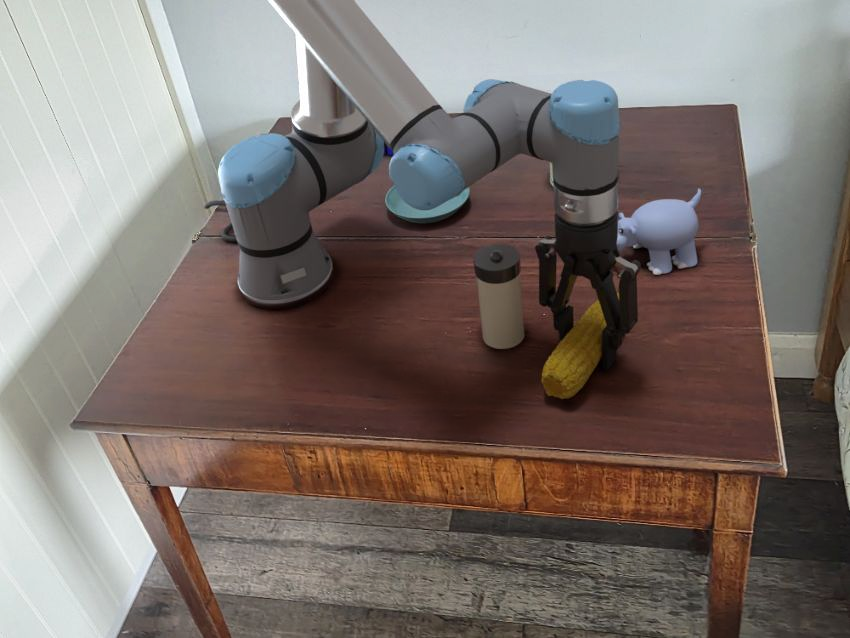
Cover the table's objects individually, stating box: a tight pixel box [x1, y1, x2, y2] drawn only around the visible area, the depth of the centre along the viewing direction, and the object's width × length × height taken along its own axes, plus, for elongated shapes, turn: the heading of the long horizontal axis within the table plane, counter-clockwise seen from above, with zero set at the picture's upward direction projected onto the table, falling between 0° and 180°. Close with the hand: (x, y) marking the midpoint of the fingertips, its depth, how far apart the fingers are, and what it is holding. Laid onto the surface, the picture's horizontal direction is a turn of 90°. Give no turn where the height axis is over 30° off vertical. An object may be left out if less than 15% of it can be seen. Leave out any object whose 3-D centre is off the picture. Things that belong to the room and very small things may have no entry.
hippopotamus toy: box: [616, 188, 702, 276], centre depth 134 cm, size 11×15×10 cm
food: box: [541, 292, 619, 400], centre depth 120 cm, size 21×6×6 cm, turn 149°
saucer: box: [384, 184, 470, 224], centre depth 155 cm, size 15×15×3 cm
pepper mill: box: [472, 243, 526, 350], centre depth 122 cm, size 6×6×15 cm
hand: (587, 355), depth 121 cm, fingers closed on food, 6 cm apart
